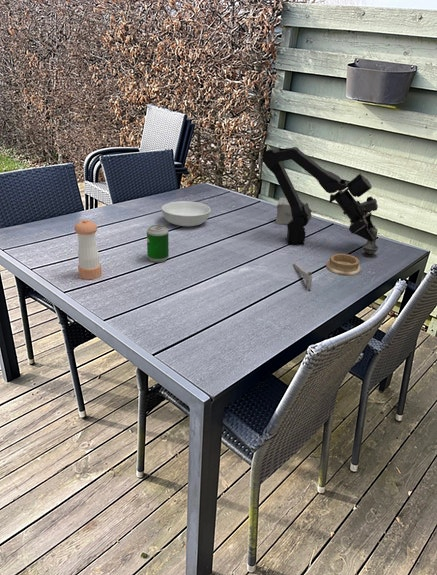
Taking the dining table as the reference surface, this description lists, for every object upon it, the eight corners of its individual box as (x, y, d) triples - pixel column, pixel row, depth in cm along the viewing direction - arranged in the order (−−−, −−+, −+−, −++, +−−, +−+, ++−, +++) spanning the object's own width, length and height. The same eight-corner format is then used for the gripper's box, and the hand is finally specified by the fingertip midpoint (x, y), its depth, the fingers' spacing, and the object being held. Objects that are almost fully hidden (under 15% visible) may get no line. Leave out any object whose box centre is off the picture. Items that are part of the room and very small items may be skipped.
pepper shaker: (81, 281, 153) (76, 225, 145) (76, 272, 159) (70, 217, 150) (104, 277, 157) (99, 222, 148) (98, 268, 162) (93, 215, 154)
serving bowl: (209, 232, 198) (210, 216, 195) (159, 230, 198) (158, 214, 194) (210, 216, 216) (211, 201, 213) (164, 214, 216) (164, 199, 213)
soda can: (172, 257, 173) (172, 226, 168) (161, 265, 167) (161, 232, 162) (154, 253, 176) (154, 222, 170) (143, 260, 170) (142, 228, 164)
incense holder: (274, 224, 209) (277, 201, 205) (277, 218, 217) (279, 196, 212) (297, 227, 207) (300, 204, 203) (299, 221, 215) (302, 199, 210)
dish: (331, 275, 165) (333, 266, 163) (322, 261, 175) (323, 252, 174) (365, 275, 166) (367, 266, 164) (353, 261, 176) (355, 252, 175)
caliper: (310, 291, 154) (313, 274, 151) (307, 291, 154) (309, 274, 151) (295, 265, 172) (297, 249, 169) (292, 265, 172) (294, 249, 169)
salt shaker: (358, 252, 185) (364, 222, 179) (373, 252, 185) (379, 222, 180) (364, 258, 179) (369, 228, 174) (379, 258, 180) (385, 228, 175)
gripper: (364, 198, 165) (390, 233, 167) (369, 185, 181) (394, 217, 182) (337, 216, 171) (364, 250, 173) (345, 202, 187) (369, 233, 188)
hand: (373, 237), depth 179 cm, fingers open, 9 cm apart
